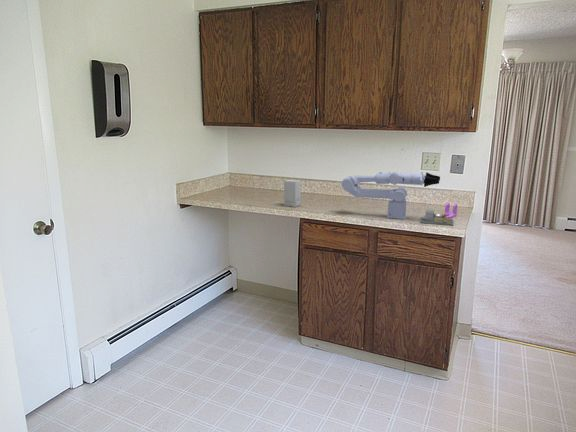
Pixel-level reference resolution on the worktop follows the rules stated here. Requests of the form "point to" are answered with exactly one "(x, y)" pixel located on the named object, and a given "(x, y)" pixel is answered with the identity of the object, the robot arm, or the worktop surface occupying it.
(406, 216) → the robot arm
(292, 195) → the skincare box
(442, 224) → the grey latch board
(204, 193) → the worktop surface
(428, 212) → the block
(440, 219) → the keeper bar
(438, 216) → the orange block with stem
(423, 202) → the worktop surface
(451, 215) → the bracket
